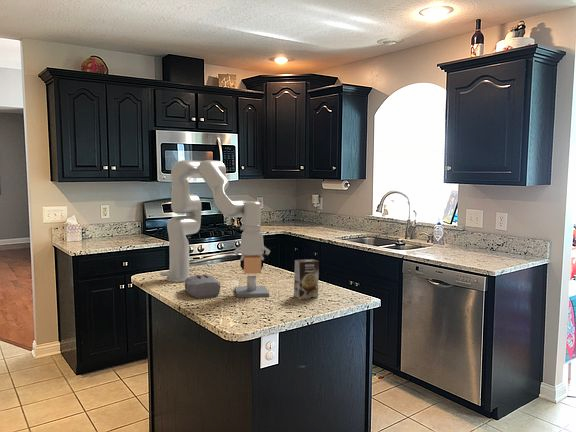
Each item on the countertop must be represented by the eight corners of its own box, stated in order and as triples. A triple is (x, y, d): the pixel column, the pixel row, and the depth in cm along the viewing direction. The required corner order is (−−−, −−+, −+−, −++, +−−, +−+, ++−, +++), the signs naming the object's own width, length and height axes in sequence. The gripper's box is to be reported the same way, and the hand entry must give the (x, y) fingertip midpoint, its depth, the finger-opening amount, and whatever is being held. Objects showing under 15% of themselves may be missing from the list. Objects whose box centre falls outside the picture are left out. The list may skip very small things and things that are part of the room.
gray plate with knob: (236, 297, 205) (237, 280, 204) (234, 289, 218) (234, 273, 218) (269, 296, 207) (269, 279, 206) (265, 288, 221) (265, 272, 220)
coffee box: (299, 299, 203) (300, 262, 202) (293, 295, 209) (294, 259, 208) (318, 297, 207) (319, 260, 205) (312, 294, 213) (312, 258, 211)
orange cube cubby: (244, 273, 208) (244, 257, 207) (242, 270, 215) (242, 255, 214) (261, 273, 209) (261, 257, 208) (259, 269, 216) (259, 254, 215)
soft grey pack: (224, 296, 207) (210, 286, 224) (224, 277, 206) (210, 269, 224) (190, 300, 200) (179, 289, 218) (190, 280, 199) (178, 271, 217)
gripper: (232, 230, 205) (232, 271, 207) (272, 230, 208) (272, 270, 210) (231, 228, 212) (231, 267, 214) (270, 228, 215) (270, 266, 217)
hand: (251, 268), depth 212 cm, fingers closed on orange cube cubby, 7 cm apart
